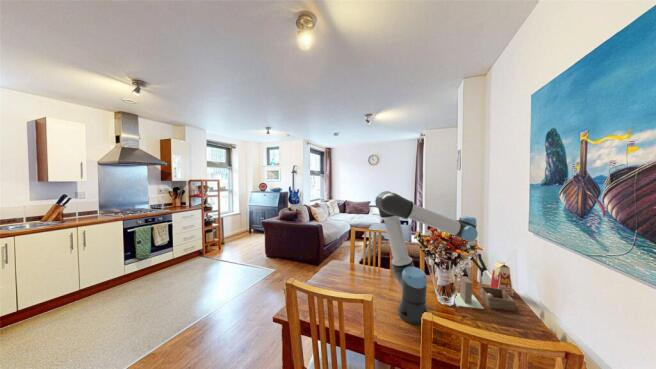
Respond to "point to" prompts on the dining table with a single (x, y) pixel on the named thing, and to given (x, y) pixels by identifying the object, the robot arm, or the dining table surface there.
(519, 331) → the dining table surface
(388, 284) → the dining table surface
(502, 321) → the dining table surface
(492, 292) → the walnut box
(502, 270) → the milk carton
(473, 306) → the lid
